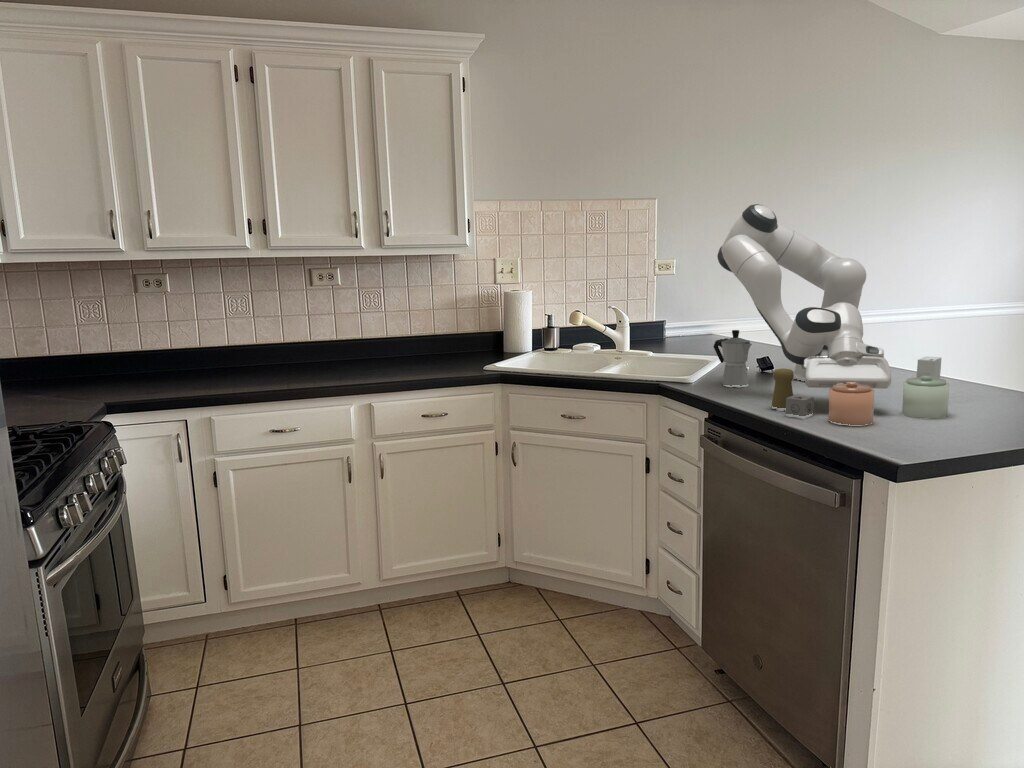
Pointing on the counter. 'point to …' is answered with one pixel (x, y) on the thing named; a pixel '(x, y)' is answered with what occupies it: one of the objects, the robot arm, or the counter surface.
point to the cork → (782, 387)
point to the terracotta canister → (851, 404)
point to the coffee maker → (734, 359)
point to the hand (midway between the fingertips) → (847, 399)
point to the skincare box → (929, 367)
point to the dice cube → (799, 405)
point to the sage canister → (925, 397)
